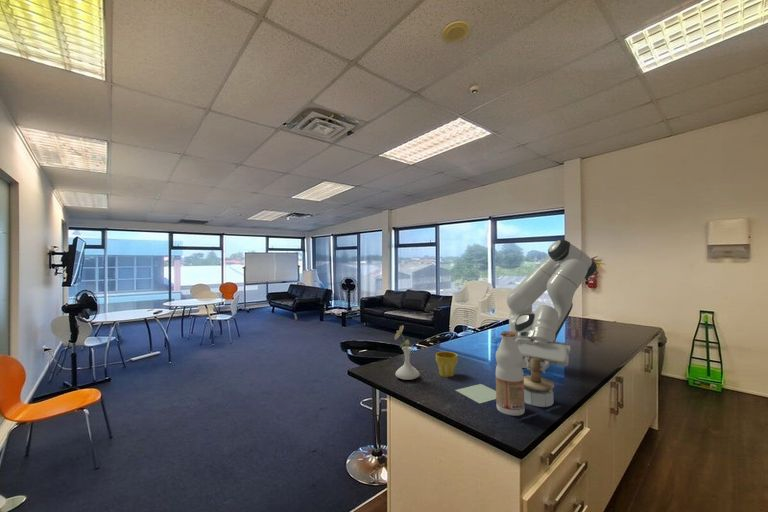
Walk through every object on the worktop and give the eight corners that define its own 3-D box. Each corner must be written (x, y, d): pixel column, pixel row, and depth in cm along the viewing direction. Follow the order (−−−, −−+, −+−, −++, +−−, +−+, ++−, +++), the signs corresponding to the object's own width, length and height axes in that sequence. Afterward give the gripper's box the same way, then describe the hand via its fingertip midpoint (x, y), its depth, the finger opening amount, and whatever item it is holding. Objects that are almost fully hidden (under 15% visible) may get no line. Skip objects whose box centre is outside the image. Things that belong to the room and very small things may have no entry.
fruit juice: (492, 411, 109) (490, 332, 110) (501, 402, 116) (499, 328, 117) (520, 420, 103) (517, 336, 104) (528, 409, 110) (525, 331, 111)
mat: (480, 385, 133) (480, 383, 133) (506, 397, 120) (506, 395, 120) (455, 391, 127) (455, 390, 127) (479, 405, 114) (479, 403, 114)
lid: (532, 376, 124) (532, 353, 125) (561, 386, 114) (560, 360, 114) (512, 381, 119) (511, 357, 119) (539, 392, 108) (538, 366, 109)
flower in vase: (406, 371, 151) (405, 321, 152) (424, 377, 143) (423, 323, 144) (387, 378, 142) (387, 324, 143) (406, 385, 134) (405, 328, 135)
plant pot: (458, 379, 140) (458, 358, 140) (435, 378, 142) (435, 357, 142) (457, 371, 150) (457, 351, 150) (436, 370, 152) (435, 351, 152)
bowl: (533, 393, 124) (533, 380, 124) (559, 404, 114) (559, 390, 114) (514, 399, 119) (513, 386, 119) (539, 410, 109) (539, 396, 109)
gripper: (572, 348, 118) (568, 381, 111) (518, 340, 132) (510, 369, 125) (569, 339, 115) (564, 372, 108) (514, 331, 129) (506, 360, 121)
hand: (535, 370), depth 116 cm, fingers closed on lid, 3 cm apart
